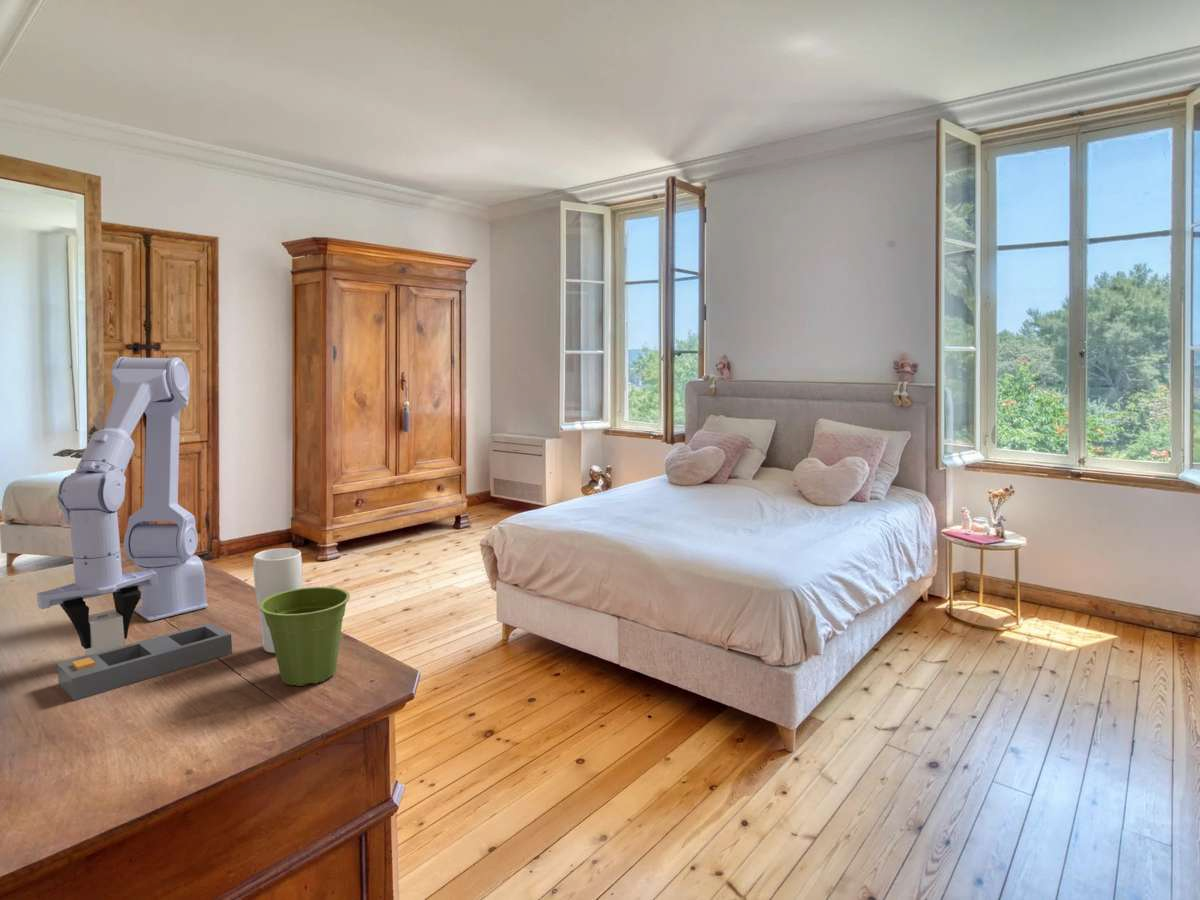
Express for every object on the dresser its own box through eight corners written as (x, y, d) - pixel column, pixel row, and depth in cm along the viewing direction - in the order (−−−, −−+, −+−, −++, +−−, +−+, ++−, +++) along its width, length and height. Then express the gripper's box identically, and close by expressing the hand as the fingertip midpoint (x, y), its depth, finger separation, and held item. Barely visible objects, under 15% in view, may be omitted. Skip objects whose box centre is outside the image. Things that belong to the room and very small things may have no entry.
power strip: (212, 640, 113) (211, 619, 112) (232, 653, 108) (230, 631, 108) (58, 684, 98) (56, 659, 97) (73, 700, 93) (71, 675, 93)
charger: (116, 647, 109) (113, 608, 109) (125, 654, 107) (122, 615, 106) (85, 655, 106) (82, 615, 105) (94, 663, 104) (90, 622, 103)
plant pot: (363, 657, 108) (360, 585, 106) (336, 695, 96) (333, 615, 94) (283, 657, 107) (280, 585, 106) (247, 695, 96) (242, 614, 94)
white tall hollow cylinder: (258, 660, 106) (253, 562, 104) (257, 643, 112) (252, 550, 110) (307, 651, 109) (303, 556, 107) (303, 636, 115) (299, 545, 113)
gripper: (42, 570, 96) (52, 665, 98) (162, 548, 107) (168, 634, 109) (29, 559, 101) (38, 651, 103) (145, 540, 112) (151, 622, 114)
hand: (104, 641), depth 106 cm, fingers closed on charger, 4 cm apart
